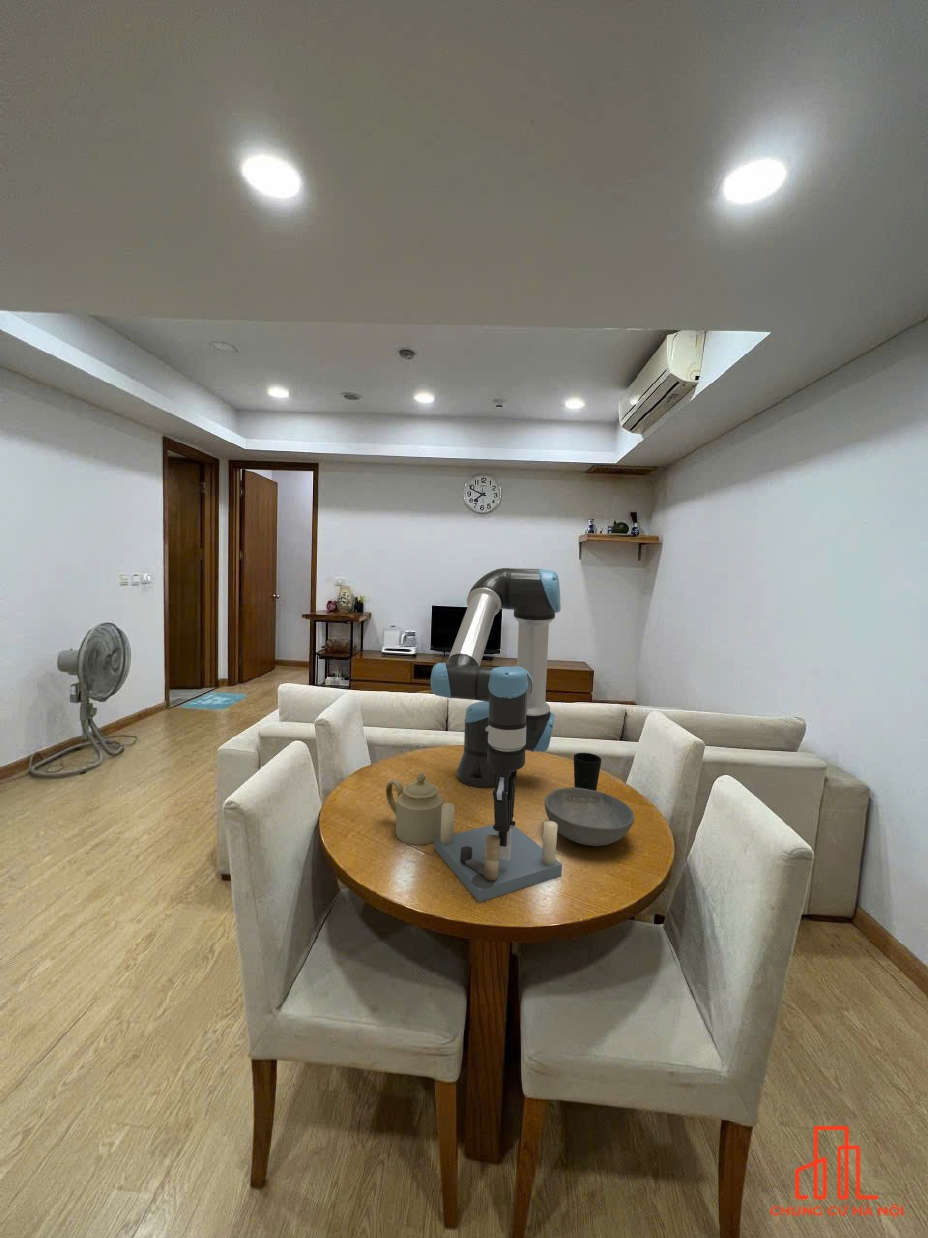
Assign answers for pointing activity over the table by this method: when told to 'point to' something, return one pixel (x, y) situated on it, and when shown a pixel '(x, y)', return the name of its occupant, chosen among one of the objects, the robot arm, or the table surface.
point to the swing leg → (491, 858)
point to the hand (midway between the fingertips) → (503, 858)
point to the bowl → (588, 816)
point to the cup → (586, 770)
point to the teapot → (416, 811)
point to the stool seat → (513, 875)
